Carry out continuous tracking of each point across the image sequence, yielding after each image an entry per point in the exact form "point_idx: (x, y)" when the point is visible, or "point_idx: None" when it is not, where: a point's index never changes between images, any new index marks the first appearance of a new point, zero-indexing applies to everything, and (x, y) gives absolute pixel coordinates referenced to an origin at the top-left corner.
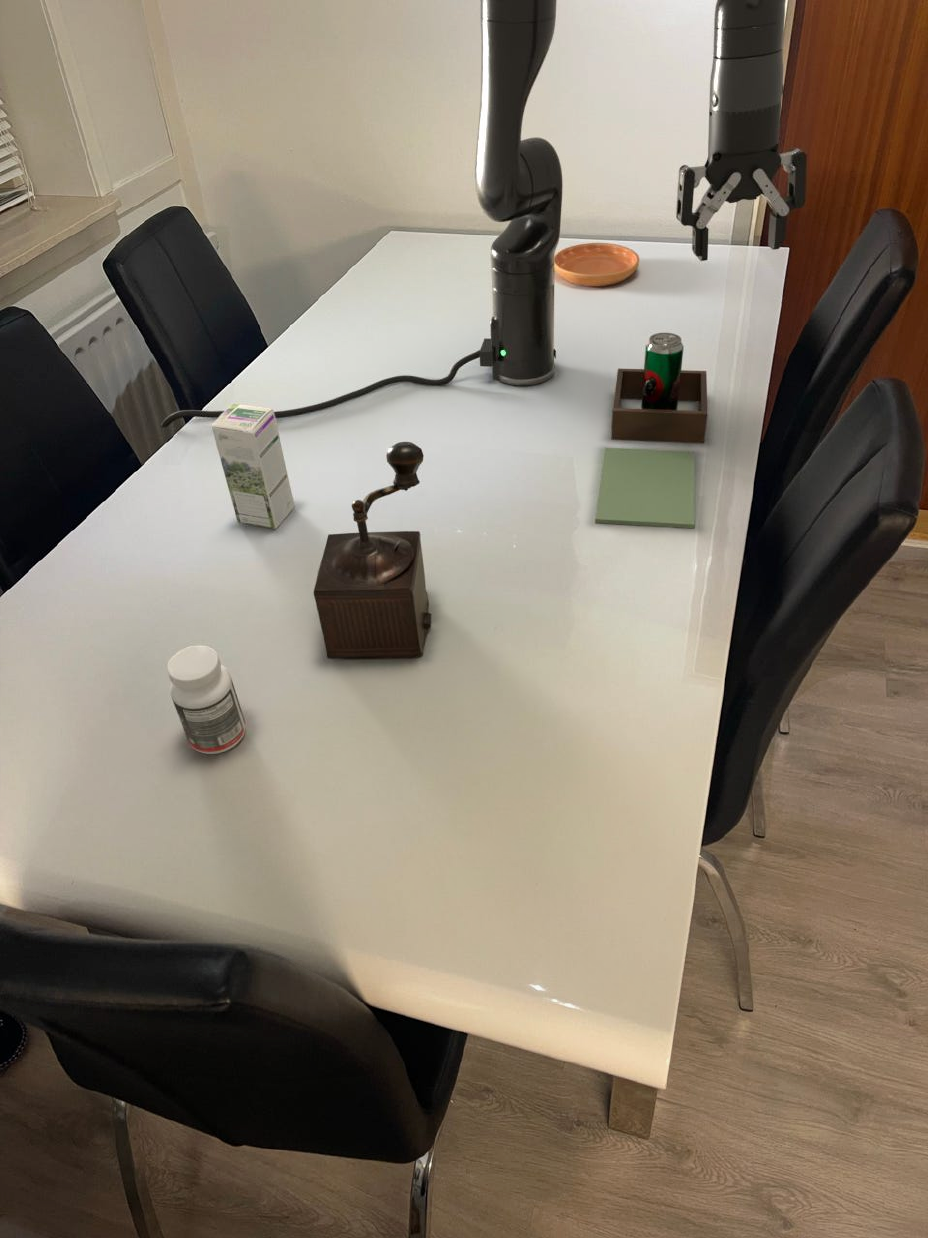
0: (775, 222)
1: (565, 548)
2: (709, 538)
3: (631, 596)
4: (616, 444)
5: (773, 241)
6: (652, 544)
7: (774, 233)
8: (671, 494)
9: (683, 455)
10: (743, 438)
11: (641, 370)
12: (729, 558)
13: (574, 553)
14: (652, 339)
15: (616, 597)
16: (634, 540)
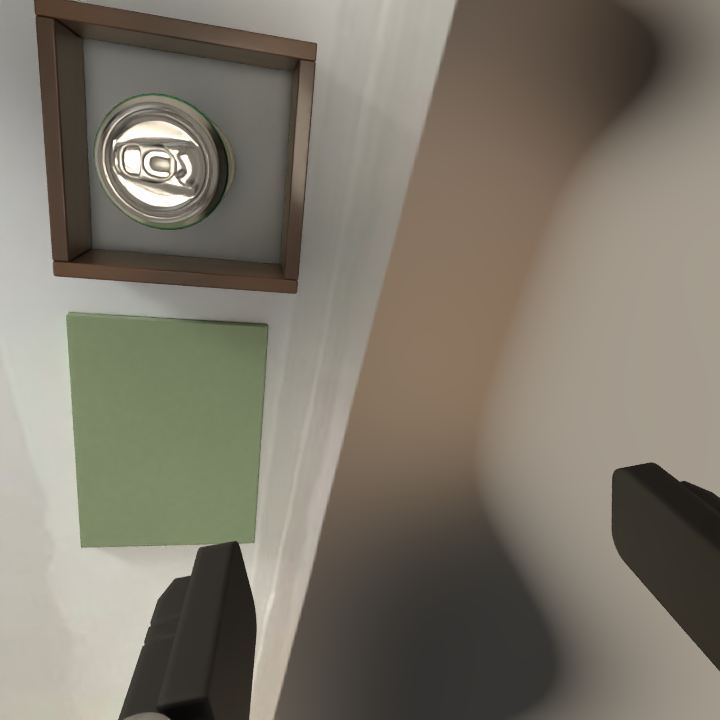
0: (716, 658)
1: (41, 605)
2: (275, 556)
3: None
4: (94, 282)
5: (637, 561)
6: None
7: (667, 601)
8: (217, 471)
9: (244, 343)
10: (375, 257)
11: (116, 21)
12: (300, 592)
13: (59, 613)
14: (111, 162)
15: None
16: (156, 574)
